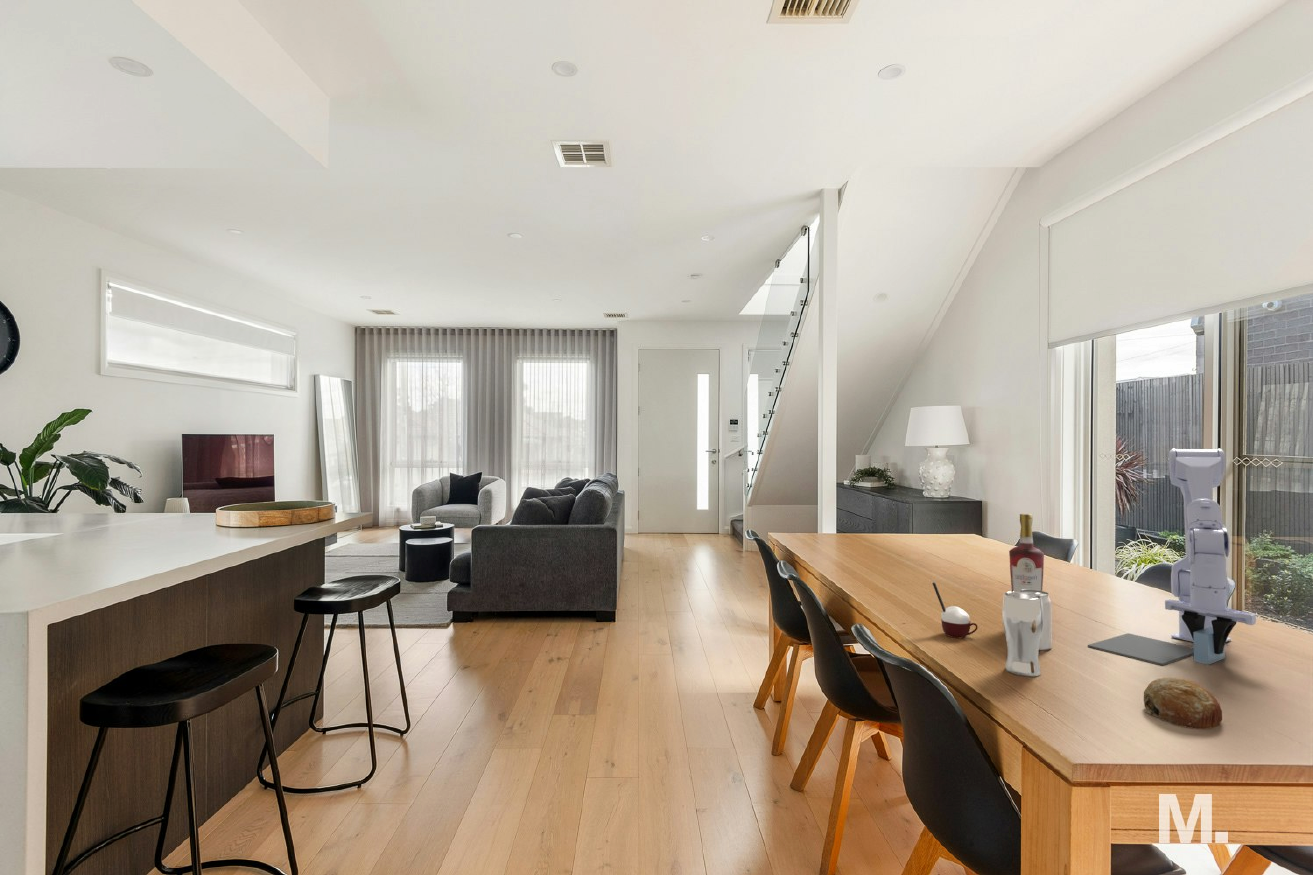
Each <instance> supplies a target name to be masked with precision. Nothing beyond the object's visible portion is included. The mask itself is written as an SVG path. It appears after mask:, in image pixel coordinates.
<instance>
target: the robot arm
mask: <svg viewBox="0 0 1313 875" xmlns="http://www.w3.org/2000/svg"><path fill="white" fill-rule="evenodd" d="M1168 470H1169V472H1168V473H1169V480H1170V484H1171V485H1173V486H1175V487H1177V488H1179V489H1180V491H1181V494H1182V497H1183V517H1184V537H1185V538H1184V539H1185V540H1184V542H1185V543H1184V544H1185V556H1184V557H1182V558H1180V559H1178V560H1176V561H1174V562H1173V564H1172V565H1171V572H1170V589H1171V594H1172V595H1173V596H1174V597H1176V598H1177V599H1178V600H1176V599H1175V600H1174V599H1165V600H1164V609H1165V610H1168V611H1172V610H1173V611H1178V630H1179V631H1178V632H1176V633H1173V634H1171V636H1170V637H1171V638H1172V639H1178V640H1183V641H1187V642H1191V643H1192V642H1193V643H1194V632H1195V631H1198V630H1202V629H1205V628H1208V627H1213V632H1214V653H1215V654H1222V653H1223V649H1224V645H1225V646H1226V643H1227V642H1230V641H1232V638H1231V637H1229V635H1230V633H1231V632H1232V630H1233V629H1234V628H1235V626H1236V625H1237V623H1242V624H1245V625H1248V626H1253V625H1257V624H1256V623H1257V616H1256V613H1249V612H1246V611H1241V610H1238V609H1237V610H1236V609H1233V608H1229V607H1227V601H1228V600H1229V597H1230V595H1229V594H1230V593H1229V592H1230V590H1229V585H1230V584H1229V578H1228V574H1227V558H1228V557H1229V554H1230V550H1231V549H1230V548H1231V544H1230V543H1231V542H1230V536H1229V532H1228V530H1227V528H1226V525H1224V520H1223V513H1222V507H1221V505H1220V504H1219V503H1217V501H1214V499H1213V496H1214V494H1213V489H1214V488H1217V487H1220V486H1221V483H1222V482H1223V479H1224V476H1225V475H1224V474H1225V472H1226V454H1225V451H1224V450H1223V449H1222V448H1216V449H1215V448H1214V449H1210V448H1209V449H1207V448H1204V449H1203V448H1202V449H1200V448H1199V449H1197V448H1195V449H1194V448H1191V449H1189V448H1187V449H1186V448H1183V449H1182V448H1181V449H1180V448H1179V449H1178V448H1171V449H1170V450H1169V452H1168ZM1224 555H1225V556H1226V557H1225V556H1224Z"/></svg>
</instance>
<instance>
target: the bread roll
mask: <svg viewBox="0 0 1313 875" xmlns="http://www.w3.org/2000/svg"><path fill="white" fill-rule="evenodd" d="M1143 703H1144V705H1143V706H1144V709H1145V713H1146V714H1149V715H1151V716H1153V717H1155V718H1157V719H1159V720H1163V721H1166V722H1169V723H1171V724H1172V725H1175V726H1178V727H1179V726H1180V727H1184V728H1189V729H1197V730H1199V729H1202V730H1207V729H1213V728H1215V727H1219V726H1220V724H1221V723H1222V721H1223V710H1222V708H1221V704H1220V702H1219V701H1218V700H1217V698H1215V696H1214V695H1213V694H1212V693H1211V692H1210V691H1209V690H1207V689H1206V688H1204V687H1203V686H1202V685H1200V684H1198V683H1196V682H1194V681H1193V680H1189V679H1185V678H1179V677H1178V678H1177V677H1162V678H1161V677H1160V678H1156V679H1154V680H1152V681H1150V683H1149V684H1148V685H1147V687H1145V690H1144V691H1143Z"/></svg>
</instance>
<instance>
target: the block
mask: <svg viewBox="0 0 1313 875" xmlns="http://www.w3.org/2000/svg"><path fill="white" fill-rule="evenodd" d="M1193 648H1194V655H1193V662H1196V663H1200V664H1204V665H1211V664H1213V662H1214V663H1217V662H1219V661H1221V660H1224V659H1226V644H1225V645H1224V649H1223V653H1222V654H1215V653H1214V632H1213V627H1208V628H1205V629H1202V630H1198V631H1195V632H1194V642H1193Z"/></svg>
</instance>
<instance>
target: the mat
mask: <svg viewBox="0 0 1313 875" xmlns="http://www.w3.org/2000/svg"><path fill="white" fill-rule="evenodd" d="M1087 647H1088V648H1092V649H1096V650H1100V651H1102V652H1106V653H1111V654H1115V655H1118V656H1119V655H1120V656H1122V657H1125V658H1130V659H1131V658H1132V659H1134V660H1139V661H1142V662H1146V663H1151V664H1154V665H1158V666H1165V665H1168V664H1171V663H1174V662H1177V661H1179V660H1182V659H1185V658H1188V657H1190V656H1194V647H1192V646H1191V647H1190V646H1186V645H1182V644H1179V643H1178V644H1177V643H1173V642H1169V641H1163V640H1159V639H1155V638H1151V637H1147V636H1142V635H1137V634H1133V633H1129V632H1127V633H1124V634H1121V635H1118V636H1113V637H1111V638H1106V639H1104V640H1100V641H1096V642H1093V643H1089V644H1087Z"/></svg>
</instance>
